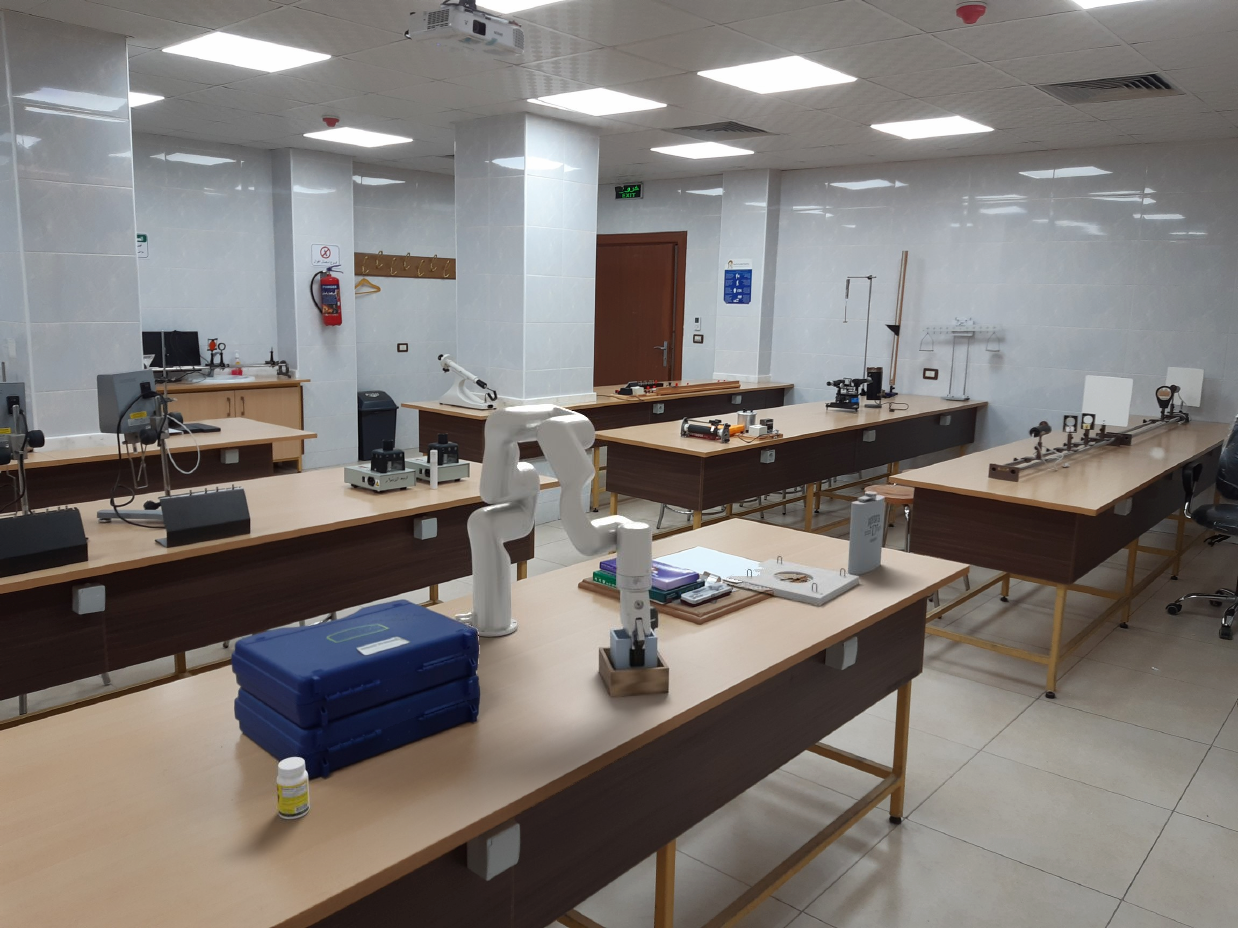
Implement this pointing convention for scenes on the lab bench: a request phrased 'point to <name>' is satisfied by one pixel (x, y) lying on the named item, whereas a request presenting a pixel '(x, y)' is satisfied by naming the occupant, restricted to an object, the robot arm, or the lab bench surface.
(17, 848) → the lab bench surface
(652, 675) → the open wooden box
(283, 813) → the supplement bottle
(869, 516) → the flask
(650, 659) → the box
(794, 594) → the mounting panel
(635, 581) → the robot arm
